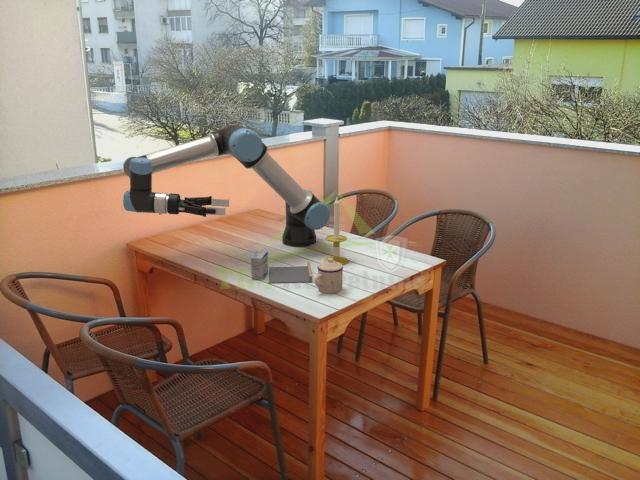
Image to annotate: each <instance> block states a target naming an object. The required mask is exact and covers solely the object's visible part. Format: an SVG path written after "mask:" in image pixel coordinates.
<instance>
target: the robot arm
mask: <svg viewBox="0 0 640 480" xmlns="http://www.w3.org/2000/svg"><path fill="white" fill-rule="evenodd" d="M223 155H231V157H234V158H235V159H236V160H237V162H238V163H240V164H241V165H242V166H243V167H244V168H245V169H251V170H253V171H254V172H255V173H256V174H257V175H258V176H259V177H260V178H261V179H262V180H263V181H264V182H265V183H266V184H267V185H268V186H269V187H270V188H272V190H273V191H274V192H275V193H276V194H277V195H278V196H279V197H280V198H281V199H282V200H283V201H284V202H285V228H284V231H283V234H282V243H283V244H284V245H286V246H287V247H296V248H297V247H298V248H302V247H309V246H312V245H315V244H316V243H317V234H316V232H315V231H316V230H317V231H318V230H321V229H322V228H324V227H325V226H326V225H328V222H329V220H330V218H331V210H330V208H329V207H328V206H327V204H326V203H324V202H322V201H321V200H320V199H319V198H317V196H315V194H313V191H312V190H311V189H310V190H309V189H303V188H302V186H301V185H299V183H298V182H297V181H296V180H295V179H294V178H293V177H292V176H291V175H290V174H289V173H288V172H287V171H286V170H285V169H284V168H283V167H282V166H281V165H280V164H279V163H278V162H277V161H276V160H275V158H273V157H272V156H271V155H270V154H269V152H268V146H267V145H266V144H265V143H264V142H263V140H262V138H261V137H260V135H259V134H258V133H257V132H256V131H254V130H253V129H250V128H245V127H243V126H241V125H229V126H227V127H223V128H219V129H217V130H214V131H210V132H208V134H207V135H206V136H203V137H200V138H197V139H194V140H191V141H190V140H189V141H186V142H183V143H180V144H176V145H173V146H170V147H167V148H164V149H160V150H157V151H153V152H150V153H147V154H144V155H139V156H130V157H127V158H126V159H125V160H124V162H123V165H122V166H123V170H124V171H123V172H124V173H125V175H126V176H127V177H128V178H129V185H130V187H129V190H126V191H124V194H123V199H122V202H123V203H122V204H123V205H122V206H123V209H124V211H127V212H132V213H143V214H144V213H146V214H147V213H148V214H158V215H160V216H161V215H163V214H164V215H165V214H166V215H167V214H168V215H179V214H180V213H186V214H190V215H194V216H195V215H196V216H201V217H204V218H206V217H207V215H211V216H212V215H213V216H226V210H227V209H226V208H229V207H230V199H229V198H228V199H227V198H214V197H213V198H212V196H211V195H209V196H202V197H201V196H200V197H199V196H198V197H194V196H193V197H187V196H186V197H184V199H182V198H181V195H180V194H179V193H171V192H170V193H169V194H168V192H154V191H152V190H153V186H152V185H153V183H152V181H153V174H156V173H158V172H163V171H165V170H168V169H171V168H176V167H178V166H181V165H185V164H188V163H191V162H194V161H198V160H201V159H204V158H208V157H211V156H216V157H220V156H223Z"/></svg>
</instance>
